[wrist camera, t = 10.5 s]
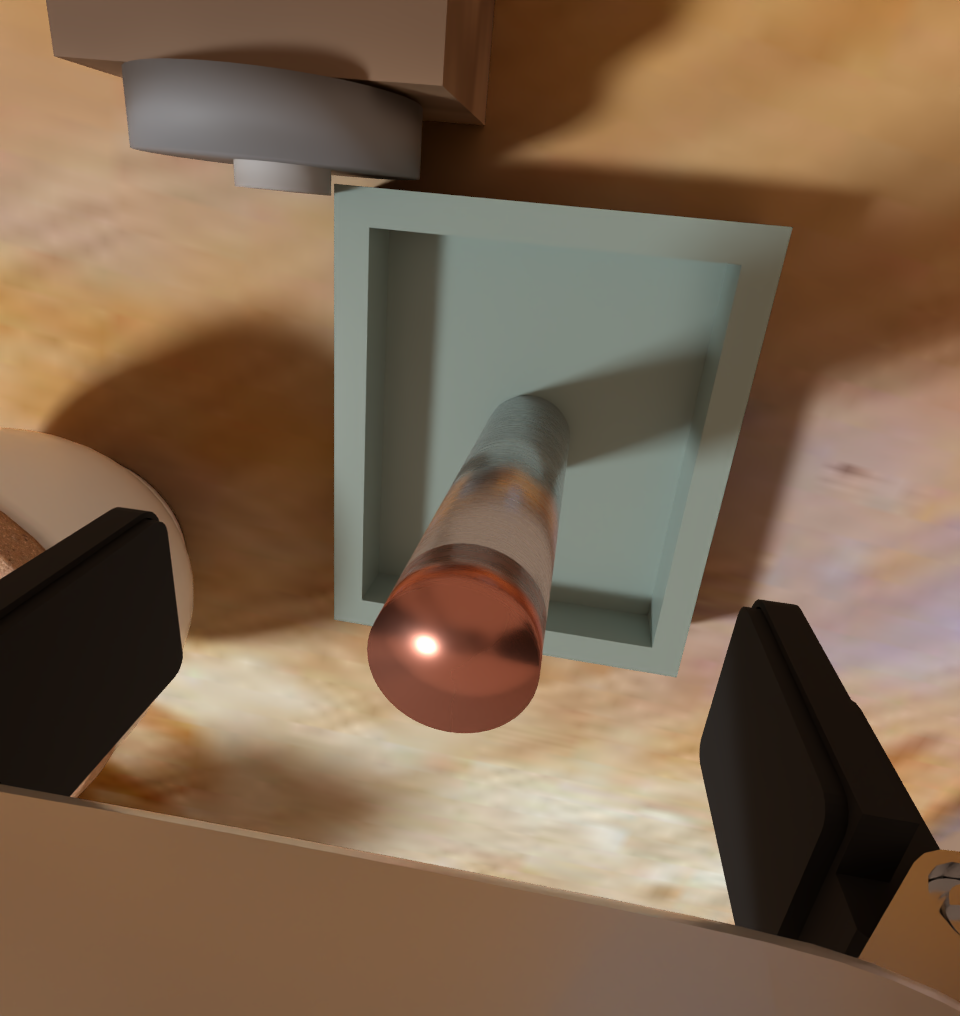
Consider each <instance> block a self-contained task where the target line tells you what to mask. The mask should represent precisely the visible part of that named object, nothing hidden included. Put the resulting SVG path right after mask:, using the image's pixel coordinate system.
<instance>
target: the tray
mask: <svg viewBox="0 0 960 1016" xmlns="http://www.w3.org/2000/svg"><path fill="white" fill-rule="evenodd" d="M792 228H793V227H785V226H775V225H764V224H753V223H743V222H732V221H722V220H711V219H700V218H690V217H679V216H669V215H658V214H648V213H637V212H626V211H616V210H605V209H595V208H584V207H574V206H563V205H552V204H542V203H531V202H521V201H510V200H499V199H489V198H478V197H468V196H457V195H447V194H436V193H425V192H415V191H404V190H394V189H383V188H372V187H362V186H351V185H341V184H334V620H339V621H345V622H351V623H357V624H363V625H369V626H373V624H374V622H375V620H376V618H377V616H378V615H379V613H380V611H381V609H382V608H383V606H384V604H385V602H386V601H387V599H388V597H389V595H390V593H391V592H392V590H393V588H394V586H395V585H396V583H397V581H398V579H399V577H400V576H401V574H402V572H403V570H404V569H405V567H406V565H407V563H408V561H409V560H410V558H411V556H412V554H413V553H414V551H415V549H416V547H417V546H418V544H419V542H420V540H421V538H422V537H423V535H424V533H425V531H426V530H427V528H428V526H429V524H430V522H431V521H432V519H433V517H434V515H435V514H436V512H437V510H438V508H439V506H440V505H441V503H442V501H443V499H444V498H445V496H446V494H447V492H448V491H449V489H450V487H451V485H452V483H453V482H454V480H455V478H456V476H457V475H458V473H459V471H460V469H461V467H462V466H463V464H464V462H465V460H466V459H467V457H468V455H469V453H470V451H471V450H472V448H473V446H474V444H475V443H476V441H477V439H478V437H479V436H480V434H481V432H482V430H483V428H484V427H485V425H486V423H487V421H488V420H489V418H490V416H491V414H492V413H493V411H494V410H495V409H496V408H497V407H498V406H499V405H500V404H502V403H503V402H504V401H506V400H508V399H510V398H513V397H516V396H522V395H532V396H538V397H541V398H544V399H546V400H548V401H550V402H551V403H553V404H554V405H555V406H556V407H557V408H558V409H559V410H560V411H561V412H562V414H563V415H564V417H565V419H566V421H567V423H568V426H569V431H570V443H569V451H568V459H567V466H566V474H565V482H564V490H563V497H562V505H561V513H560V521H559V529H558V536H557V544H556V552H555V560H554V568H553V575H552V583H551V591H550V599H549V606H548V614H547V622H546V630H545V638H544V645H543V653H542V655H547V656H553V657H559V658H565V659H570V660H576V661H582V662H588V663H594V664H600V665H606V666H612V667H618V668H624V669H630V670H636V671H642V672H648V673H653V674H659V675H665V676H671V677H677V674H678V670H679V666H680V662H681V658H682V654H683V650H684V646H685V643H686V639H687V635H688V631H689V627H690V623H691V619H692V615H693V612H694V608H695V604H696V600H697V596H698V592H699V588H700V584H701V581H702V577H703V573H704V569H705V565H706V561H707V557H708V553H709V549H710V546H711V542H712V538H713V534H714V530H715V526H716V522H717V518H718V515H719V511H720V507H721V503H722V499H723V495H724V491H725V487H726V484H727V480H728V476H729V472H730V468H731V464H732V460H733V456H734V453H735V449H736V445H737V441H738V437H739V433H740V429H741V425H742V421H743V418H744V414H745V410H746V406H747V402H748V398H749V394H750V390H751V387H752V383H753V379H754V375H755V371H756V367H757V363H758V359H759V356H760V352H761V348H762V344H763V340H764V336H765V332H766V328H767V325H768V321H769V317H770V313H771V309H772V305H773V301H774V297H775V294H776V290H777V286H778V282H779V278H780V274H781V270H782V266H783V262H784V259H785V255H786V251H787V247H788V243H789V239H790V235H791V231H792Z"/></svg>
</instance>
